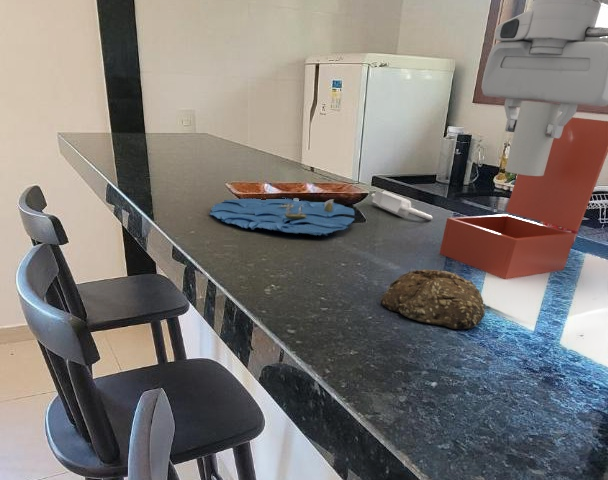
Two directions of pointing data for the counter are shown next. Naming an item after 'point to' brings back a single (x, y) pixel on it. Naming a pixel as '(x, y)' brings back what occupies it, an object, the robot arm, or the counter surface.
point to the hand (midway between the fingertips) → (531, 134)
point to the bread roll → (436, 299)
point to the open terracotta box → (506, 245)
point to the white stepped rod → (396, 204)
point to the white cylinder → (532, 138)
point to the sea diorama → (285, 215)
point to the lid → (564, 176)
